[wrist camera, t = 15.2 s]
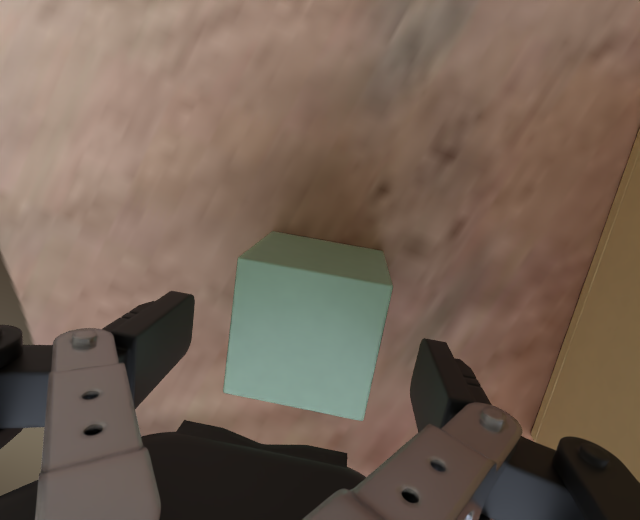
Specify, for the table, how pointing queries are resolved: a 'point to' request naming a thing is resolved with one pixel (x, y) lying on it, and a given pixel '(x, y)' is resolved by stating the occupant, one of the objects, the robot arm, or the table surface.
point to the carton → (603, 342)
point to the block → (307, 324)
